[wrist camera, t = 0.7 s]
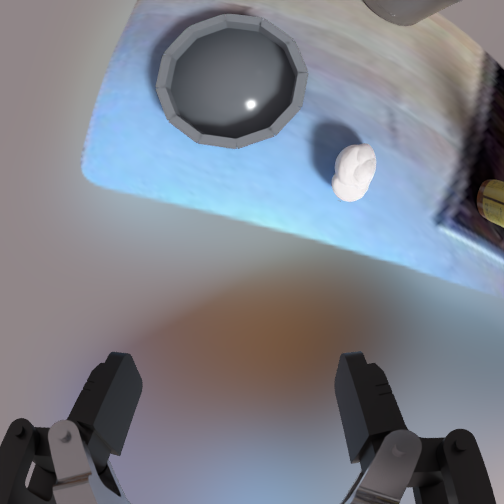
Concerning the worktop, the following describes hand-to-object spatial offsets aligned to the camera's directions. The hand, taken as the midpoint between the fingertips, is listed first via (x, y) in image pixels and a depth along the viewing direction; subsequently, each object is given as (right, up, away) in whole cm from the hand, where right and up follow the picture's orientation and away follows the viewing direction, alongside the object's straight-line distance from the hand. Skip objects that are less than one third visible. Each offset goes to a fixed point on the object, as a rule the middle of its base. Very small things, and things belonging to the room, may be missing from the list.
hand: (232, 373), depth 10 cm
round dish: (-1, +22, +16) cm, 27 cm away
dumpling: (+11, +14, +20) cm, 27 cm away
